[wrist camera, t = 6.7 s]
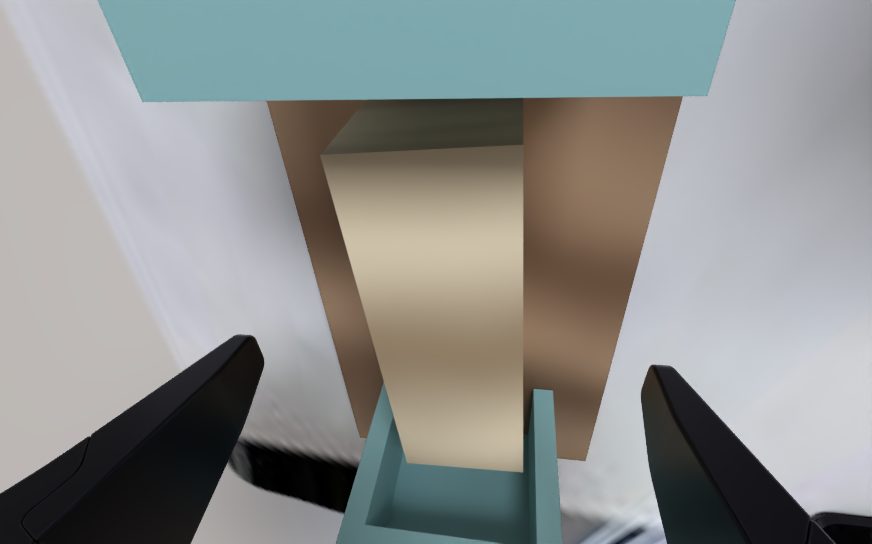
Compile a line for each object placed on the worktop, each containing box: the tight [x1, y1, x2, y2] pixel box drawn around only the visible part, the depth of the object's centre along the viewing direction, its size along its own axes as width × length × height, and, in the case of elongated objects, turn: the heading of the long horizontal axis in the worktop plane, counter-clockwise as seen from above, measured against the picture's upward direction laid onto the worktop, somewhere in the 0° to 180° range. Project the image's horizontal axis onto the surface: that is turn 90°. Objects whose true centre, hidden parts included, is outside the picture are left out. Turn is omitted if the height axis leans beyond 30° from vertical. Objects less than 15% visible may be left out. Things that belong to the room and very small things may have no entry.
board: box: [267, 96, 683, 461], centre depth 14 cm, size 21×10×1 cm, turn 3°
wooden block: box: [320, 98, 523, 472], centre depth 12 cm, size 10×4×4 cm, turn 6°
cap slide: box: [336, 383, 562, 544], centre depth 16 cm, size 4×6×6 cm, turn 93°
